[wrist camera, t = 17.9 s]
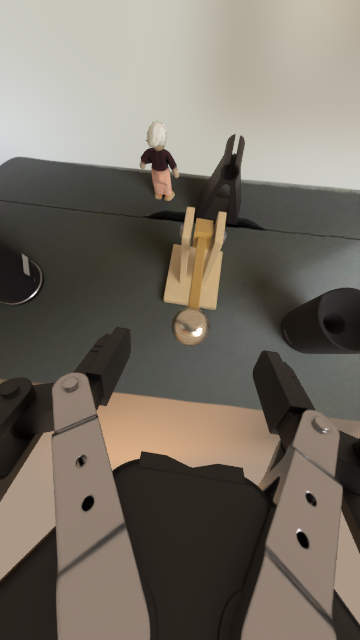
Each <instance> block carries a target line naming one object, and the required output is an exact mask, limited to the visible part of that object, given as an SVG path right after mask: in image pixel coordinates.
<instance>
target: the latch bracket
mask: <svg viewBox="0 0 360 640" xmlns="http://www.w3.org/2000/svg"><path fill="white" fill-rule="evenodd" d="M194 212H195V208H192V207H187V211H186V217H185V222H184V225H181V227H180V234H179V236H180V237H182V245H176V244H174V245H173V251H172V256H171V261H170V267H169V272H168V277H167V283H166V288H165V293H164V299H163V301H164V302H168V303H174V304H181V305H187V306H188V301H189V294H190V287H191V281H192V274H193V267H194V260H195V254H196V248H194V247H190V244H191V236H192V228H193V220H194ZM226 214H227V213H226V212H219V213H218V216H217V220H216V223H215V227H214V230H213V234H212V237H211V241H210V245H209V249H208V250H206V249H205V258H204V267H203V276H202V286H201V295H200V304H199V307H200V308H206V309H212V310H215V309H216V303H217V295H218V287H219V278H220V270H221V262H222V253H223V252H221V251H220V249H221V247H222V244H223V243H224V242H225V239H226V234H227V232H225V231H224V230H225V222H226Z"/></svg>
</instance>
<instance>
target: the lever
mask: <svg viewBox="0 0 360 640" xmlns="http://www.w3.org/2000/svg"><path fill="white" fill-rule="evenodd" d="M212 231H213V221H212V220H206V219H199V218H197V220H196V226H195V232H194V238H193V245H192V247H194V248H196V254H195V260H194V267H193V274H192V281H191V287H190V294H189V301H188V307H187V308H184V309H182V310H180V311H179V312H178V313H177V314H176V315H175V316H174V318H173V320H172V332H173V335H174V337H175V338H176V339H177V340H178V341H179V342H180V343H182V344H184V345H188V346H194V345H198V344H200V343H202V342H203V341H204V340H205V339H206V338H207V336H208V334H209V331H210V322H209V319H208V317H207V315H206V314H205V313H204V312H203V311H201V310H200V309H199V304H200V295H201V286H202V276H203V267H204V258H205V249H206V250H208V249H209V245H210V241H211V237H212Z"/></svg>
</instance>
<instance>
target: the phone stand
mask: <svg viewBox="0 0 360 640" xmlns="http://www.w3.org/2000/svg"><path fill="white" fill-rule="evenodd" d="M234 141H235V134H234V135H232V136H231V137H230V138H229V139H228V141H227V144H226V149H225V153H224V156H223V158H222V159H221V161H220V163H219V164H218V166H217V168H216V169H215V171H214V173H213V174H212V176H211V178H210V179H209V181H208V183H207V184H206V186H205V188H204V189H203V191H202V193H201V196H200V201H199V205H198V209H197V214H196V217H198V218H203V219H208V220H213V221H216V220H217V216H218V213H219V212H226V213H227V214H226V222H225V223H228V224H233V225H236V224H237V221H238V215H239V209H240V203H241V168H240V167H241V162H242V155H243V150H244V145H245V141H244V138H243V137H242V136H240V140H239V144H238V150H237V154H233V155H232V151H233V145H234ZM224 184H228V185H229V186H230V199H226V198H221V197H216V195H217V194H218V192H219V190H220V188H221V187H222V185H224Z"/></svg>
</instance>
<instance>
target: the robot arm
mask: <svg viewBox="0 0 360 640" xmlns="http://www.w3.org/2000/svg"><path fill="white" fill-rule="evenodd" d="M43 282H44V276H43V272H42V270H41V268H40V267H39V266H38V265H37V264H35V263H34V262H32V261H31V260H29V259H28V257H26V256H25V255H23V254H22V255H21V254H20V253H19V252H17V251H16V250H14V249H13V248H12V247H10V246H9V245H7V244H6V243H4V242H3V241H1V240H0V302H2V303H5V304H8V305H21V304H24V303H27V302H29V301H30V300H32V299H33V298H35V297H36V296H37V294H38V293H39V292H40V290H41V288H42V286H43ZM130 351H131V339H130V329H126V328H120V327H116V329H115V330H114V331H113V333H112V334H111V335H109V334H106V335H104V336H103V337H101V338H100V339H98V341H97V342H96V343H95V345H94V346H93V347H92V349H91V350H90V352H89V353H88V354H87V355H86V357H85V358H84V359H83V361H82V362H81V363H80V365H79V366H78V367H77V368H76V370H75V371H74V372H73V373H69V374H66V375H64V376H62V377H61V378H59V379H58V380H57V381H56V382H55V383H49V384H40V385H32V383H31V381H30V380H29V379H27V378H13V379H10V380H7V381H5V382H3V383H1V384H0V501H1V500H2V498H3V496H4V495H5V493H6V492H7V490H8V488H9V487H10V485H11V484H12V482H13V480H14V479H15V477H16V476H17V474H18V472H19V471H20V469H21V468H22V466H23V464H24V463H25V461H26V460H27V458H28V457H29V455H30V453H31V452H32V450H33V449H34V447H35V445H36V444H37V442H38V440H39V439H40V437H41V436H42V434H43V433H45V432H50V431H54V434H52V460H53V481H54V499H55V518H56V526H55V527H54V528H53V529H52V530H51V531H50V532H49V533H48V534H47V535H46V536H45V537H44V538H43V539H42V540H41V541H40V542H39V543H38V544H37V545H36V546H35V547H34V548H33V549H32V550H31V551H29V553H27V554H26V555H25V557H24V558H22V559H21V560H20V561H19V562H18V563H17V564H16V565H15V566H14V567H13V568H12V569H11V570H10V571H9V572H8V573H7V574H6V575H5V576H4V577H3V578H2V579H1V580H0V640H360V624H359V623H358V622H357V620H356V619H355V617H354V616H353V615H352V613H351V612H350V610H349V609H348V608H347V606H346V605H345V603H344V602H343V600H342V599H341V598H340V596H339V595H338V593H337V592H336V591H335V589H334V581H335V570H336V560H337V548H338V538H339V527H340V515H341V510H342V512H343V515H344V517H345V520H346V522H347V524H348V527H349V529H350V532H351V534H352V536H353V539H354V541H355V543H356V546H357V548H358V551H359V553H360V438H359V439H358V438H355V437H353V436H351V435H348V434H346V433H344V432H342V431H339V430H338V429H337V427H336V426H335V424H334V423H333V422H332V421H331V420H330V419H329V418H328V417H326V416H325V415H324V414H322V413H320V412H318V411H316V410H315V408H314V406H313V405H312V403H311V401H310V399H309V397H308V396H307V394H306V392H305V390H304V389H303V387H302V386H301V383H300V381H299V380H298V379H297V376H296V374H295V373H294V371H293V369H292V368H291V367H290V366H289V365H288V364H287V363H286V362H283V361H282V359H281V358H280V356H279V354H278V353H277V352H271V351H265V350H264V351H262V352H261V354H260V356H259V358H258V361H257V363H256V365H255V367H254V369H253V379H254V383H255V386H256V389H257V393H258V396H259V399H260V402H261V406H262V409H263V412H264V415H265V419H266V422H267V425H268V429H269V432H270V433H271V434H277V435H279V436H280V439H281V440H280V441H279V443H278V445H277V447H276V450H275V452H274V454H273V457H272V459H271V462H270V464H269V466H268V469H267V471H266V473H265V475H264V477H263V479H262V480H261V482H260V484H259V486H257V485H256V484H254V483H253V482H251V481H250V480H249V479H247V478H245V477H244V473H243V468H239V467H234V466H228V465H221V464H214V465H208V466H201V467H195V468H192V467H189V466H187V465H185V464H183V463H181V462H178V461H177V460H175V459H173V458H170V457H168V456H167V455H161V454H154V453H149V452H143V451H142V452H141V456H140V459H136V460H132V461H129V462H127V463H124V464H122V465H120V466H119V467H117V468H116V469H114V470H113V471H112V469H111V465H110V461H109V457H108V454H107V449H106V446H105V442H104V438H103V434H102V430H101V426H100V422H99V419H98V415H97V412H96V411H97V409H98V407H99V405H103V406H107V403H108V401H109V399H110V397H111V395H112V393H113V391H114V389H115V386H116V384H117V382H118V380H119V378H120V376H121V374H122V371H123V369H124V367H125V365H126V363H127V361H128V359H129V356H130Z"/></svg>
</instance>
